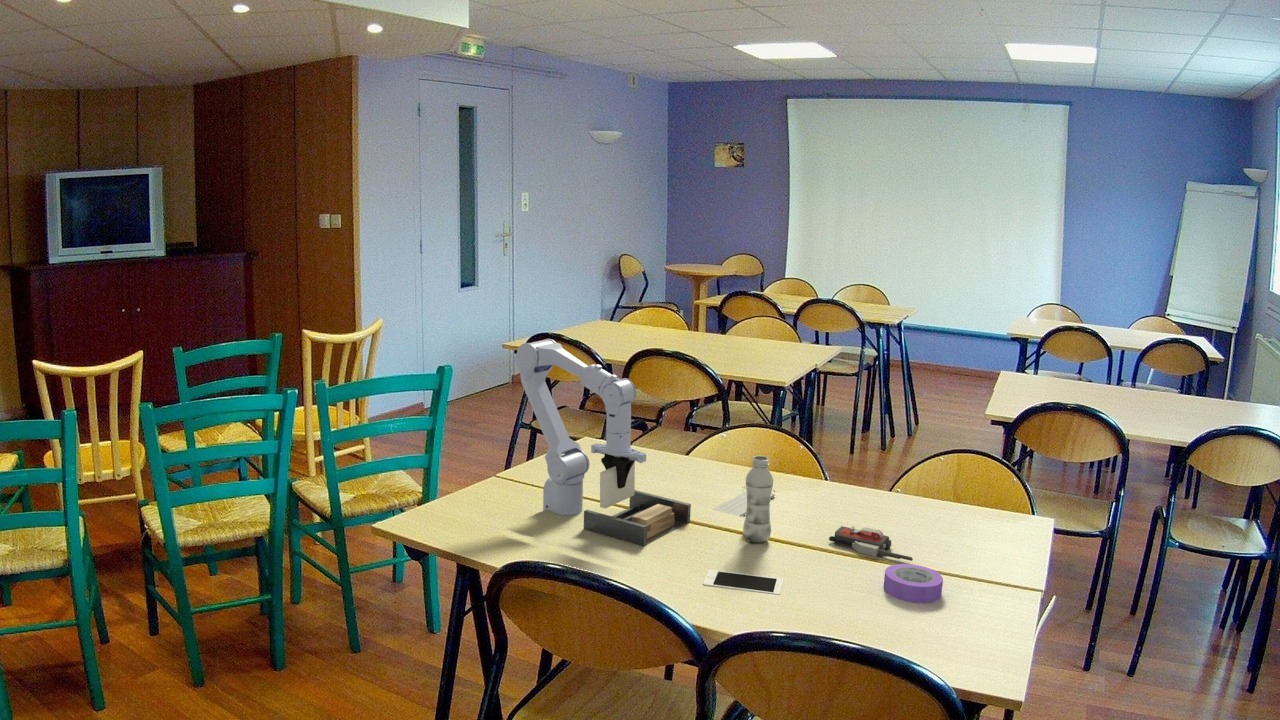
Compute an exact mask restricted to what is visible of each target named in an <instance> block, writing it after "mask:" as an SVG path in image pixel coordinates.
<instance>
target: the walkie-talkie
mask: <svg viewBox="0 0 1280 720" xmlns="http://www.w3.org/2000/svg"><path fill="white" fill-rule="evenodd" d="M828 540H829V541H830V542H832V543H834V544H835V545H837V546H841V547H845V548H848V549H853V550H854V551H855V552H856V553H859V554H861V555H862V554H863V555H866V556H871V557H874V558H877V557H878V556H885V557H889V558H894V559H897V560H900V559H903V560H907V561H911V562H913V557H912V556H908V555H904V554H899V553H895V552H891V551H886V550H887V549H888V550H889V549H891V547H892V540H891V539H890V536H888V535H884V533H883V532H882V531H881V530H879V529H873V528H870V527H863V528H861V529H857V528H856V526H854V525H852V527H849V526H848V527H847V526H844V525H842V526H840V527H839V528H838V529H836V530H835V532H834V535H833V536H832V535H831V536H829V537H828Z"/></svg>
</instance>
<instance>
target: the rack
mask: <svg viewBox="0 0 1280 720" xmlns="http://www.w3.org/2000/svg"><path fill="white" fill-rule="evenodd" d="M657 504H661V505H665V506H669V507H672V513H674V525H672V526H670V527H668V528H667V529H665V530H663V531H661V532H659V533H657V534H655V535H653V536H651V537H649V538H647V526H646V525H642V524H639V523H635V522H632V516H634V515H636V514H638V513H640V512H642V511H644V510H646V509H648V508H650V507H652V506H655V505H657ZM628 506H629V507H628V508H626V509H624V510H622V511H620V512H617V513H616V514H614V515H609V514H608V515H607V514H605V513H601V512H596V511H595V510H594V511H593V510H590V509H586V510H583V530H584V531H588V532H591V533H595V534H598V535H601V536H605V537H609V538H611V539H612V538H613V539H616V540H620V541H622V542H623V541H624V542H627V543H630V544H632V545H637V546H639V547H640V546H641V547H645V546H647V545H649V544H651V543H653V542H655V541H656V540H659V539H661V538H662V537H664V536H666V535H668V534H670V533H673V531H675V530H677V529H680V528H681V527H683V526H685V525H686V524H689V523H690V522H691V507H692V505H691V503H689V502H684V501H681V500H677V499H673V498H668V497H664V496H660V495H657V494H652V493H650V492H649V493H648V492H644V491H641V490H636V489H635V491H634V496H632V497H629V505H628Z"/></svg>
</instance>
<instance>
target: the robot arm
mask: <svg viewBox="0 0 1280 720" xmlns="http://www.w3.org/2000/svg"><path fill="white" fill-rule="evenodd" d="M514 361H515V362H516V365H517V367H518V369H519V373H520V375H519V376H520V382H521V385H522V387H523V390H524V392H525V394H526V396H527V399H528V401H529V403H530V405H531V408H532V411H533V413H534V416H535V417H536V419H537V422H538V425H539V428H540V429H541V432H542V434H543V436H544V439H545V441H546V443H547V446H548V449H547V451H546V454H545V456H544V459H545V462H546V466H547V473H548V476H549V477H548V478H547V479H546V481H545V482H544V485H543V490H542V491H543V492H542V493H543V494H542V495H543V496H542V497H543V498H542V503H543V504H542V505H543V506H542V511H550V512H552V513H555V514H556V515H561V516H577V515H580V514H581V513H583V507H584V506H583V502H584V501H583V500H584V499H583V498H584V497H583V496H584V479H585V474H586V473H587V472H588V471H589V469H590V459H589V456H588V455H587V454H586V453H585V452H584V450H583V449H582V448H581V446H580V443H579V442H577V441H575V440H574V439H572V438H570V436H569V433H568V432H567V429H566V426H565V424H564V422H563V419H562V417H561V414H560V413H559V411H558V407H557V406H556V403H555V401H554V399H553V397H552V394H551V391H550V390H549V387H548V385H547V382H546V379H547V376H548V375H549V373H550V371H551V370H552V369H553V367H554V366H557V367H558V368H560V369H562V370H563V371H566V372H568V373H569V374H572V375H573V376H576V377H578V378H579V379H580V382H581V385H582V386H583V387H584V388H586V389H588V390H590V391H592V392H593V393H595V394H596V395H598V396H600V397H601V400H602V402H603V404H604V406H605V407H604V409H605V411H606V420H605V421H606V425H605V426H606V427H605V428H606V431H605V434H606V437H605V439H606V440H605V442H606V443H604V444H603V443H598V442H596V443H593V444H591V445H590V446H591V447H590V451H591V453H592V454H601V455H604V456H603V457H602V458H601V459H600V462H601V463H602V465H603V466H604V468H605V470H607V469H609V468H612V467H614V466H616V470H617V485H618V488H619V489H621V488H623V487H625V484H626V480H627V477H628V474H629V471H630V469H631V467H632V465H633V464H634V462H637V463H639V464H642V463H645V462H646V461H647V453H646V452H643V451H639V450H637V449H634V448H632V445H631V440H632V439H631V435H632V434H631V431H632V430H631V428H632V426H631V425H632V422H631V421H632V402H633V400H635V398H636V395H637V389H636V386H635V384H634V383H633V382H632V381H631V380H630V379H629V378H626V377H624V378H618V375H616V374H612V373H610V372H608V371H607V370H605V369H603V366H602V365H601V364H598V363H597V364H593V363H592V364H589V365H588V364H586V363H584V362H583V361H581V359H578V358H577V357H576V356H574V355H573V354H571V353H570V352H569V351H567V350H566V349H564V347H563V346H562V344H561V343H559V342H556V341H555V340H554V339H551V338H545V339H542V340H538V341H537V340H536V341H533V342H525V343H522V344H521V345H519V347H518V348H517V351H516V354H515V357H514Z"/></svg>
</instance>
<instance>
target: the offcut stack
mask: <svg viewBox="0 0 1280 720" xmlns="http://www.w3.org/2000/svg"><path fill="white" fill-rule="evenodd" d="M632 522H635V523H639V524H642V525H646V526H647V538H649V537H651V536H653V535H655V534H657V533H659V532H661V531H663V530H665V529H667V528H668V527H670V526H672V525H674V513H672V507H669V506H665V505H661V504H657V505H655V506H652V507H650V508H648V509H646V510H644V511H642V512H640V513H638V514H636V515H634V516H632Z"/></svg>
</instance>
